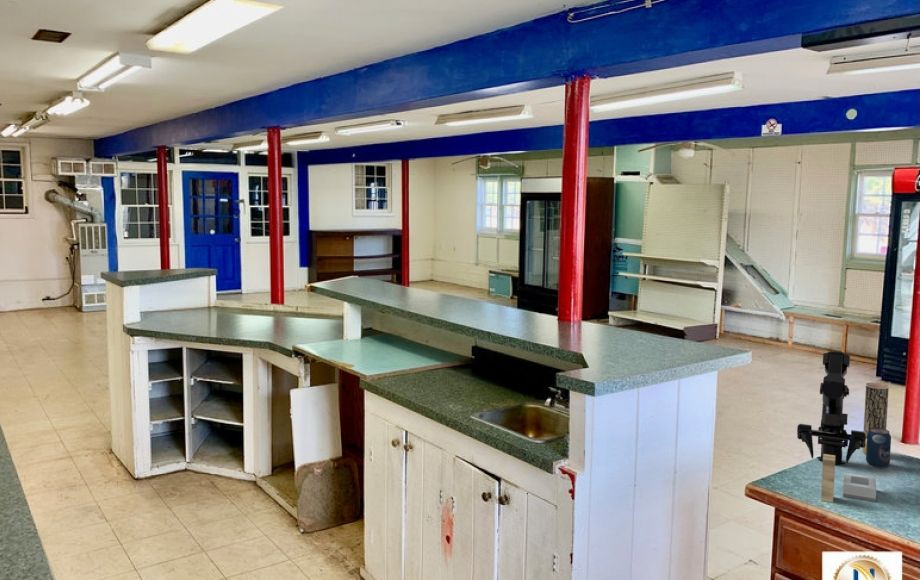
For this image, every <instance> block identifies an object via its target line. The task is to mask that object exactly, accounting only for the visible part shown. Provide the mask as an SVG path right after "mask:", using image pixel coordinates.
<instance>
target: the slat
mask: <svg viewBox="0 0 920 580" xmlns="http://www.w3.org/2000/svg"><path fill="white" fill-rule="evenodd" d="M821 468H822V469H821V488H820V489H821V492H820V493H821V495H820V497H821V498H820V501H822V502H827V503H834V497H835V496H834V492H835V491H834V490H835V475H836V474H835V470H836V464H835V455H827V454H823V462H822V466H821Z"/></svg>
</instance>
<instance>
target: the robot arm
mask: <svg viewBox="0 0 920 580" xmlns="http://www.w3.org/2000/svg"><path fill="white" fill-rule="evenodd" d="M850 360H851V355H849V354H847V353H845V352H843V351H841V350H840V351H839V350H837V351H836V350H830V351H829V350H828V351H827V352H823V354H822V366H824V372H825V373H826V375H825V376H823V380H822V382H821V383H820V387H819V394H820V395H822V407H821V408H822V409H821V419H820V426H818V429H812V428H813V427H812V425H811V424H805V423H799V424H797V426H796V427H797V428H796V431H797V432H796V433H797V435H796V436H797V437H796V438H797V439H798V440H801V442H802V443H805V445H806V446H807V448H808V451H809V454H810V455H809V456H810V457H811V459H814V442H813V437H817V445H820V446H821V447H820V456H817V457H816V459H817V458H818V459H817V460H819V461H820V462H822V463H823V454H827V455H835V465H845V464H848V463H849V460H850V459H851V457H852V455H853V454H854V453H855V452H856V451H857V450H860V449H861V448H862V449H863V448H864V447H865V442H866V433H865V432H863V431H864V430H863V431H862V430H861V431H859V430H853V429H851V431H850V433H848V432H847V429H845V426H848V417H849V416H848V415H849V414H848V413H843V412H844V411H843V408H844V399H845V397H848V396H850V388H849V386H848V385H846V378H845V376H846V375H847V373H848V368H850V363H851V361H850ZM843 448H844V449H845V448H847V452H846V456H845V461H844V460H843Z"/></svg>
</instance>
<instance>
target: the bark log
mask: <svg viewBox="0 0 920 580" xmlns="http://www.w3.org/2000/svg"><path fill="white" fill-rule="evenodd" d="M864 395H865V398H864V413H863V414H864V415H863V432H865V433H866V442H865V447H864V448H862V453H863V454H865V455H866V449H867V434H868V432H869V431H870V429H871V428H881V429H886V430H887V423H888V406H889V405H888V404H889V385H888V384H886V383H882V382H867V383H865V394H864Z"/></svg>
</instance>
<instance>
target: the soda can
mask: <svg viewBox="0 0 920 580" xmlns="http://www.w3.org/2000/svg"><path fill="white" fill-rule="evenodd" d="M891 445H892V436H891V434H890V430H888V429H887V428H886V429H881V428H871V429H870V431H869V432H868V434H867V449H866V454H865V461H866V462H867V465H869V466H870V465H871V467H873V466H874V468H878V467H879V469H880V467H881V469H885V468H887V467H888V466H889V465H890V463H891ZM884 467H885V468H884Z"/></svg>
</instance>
